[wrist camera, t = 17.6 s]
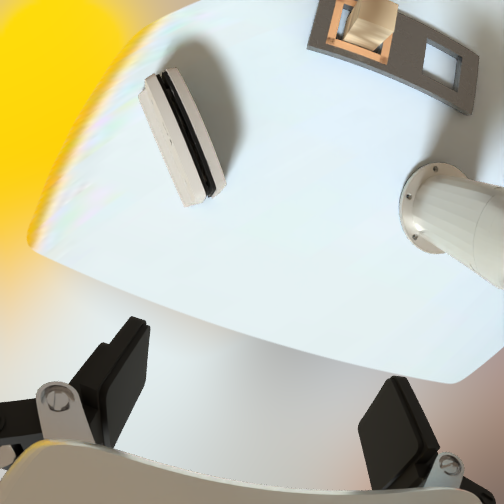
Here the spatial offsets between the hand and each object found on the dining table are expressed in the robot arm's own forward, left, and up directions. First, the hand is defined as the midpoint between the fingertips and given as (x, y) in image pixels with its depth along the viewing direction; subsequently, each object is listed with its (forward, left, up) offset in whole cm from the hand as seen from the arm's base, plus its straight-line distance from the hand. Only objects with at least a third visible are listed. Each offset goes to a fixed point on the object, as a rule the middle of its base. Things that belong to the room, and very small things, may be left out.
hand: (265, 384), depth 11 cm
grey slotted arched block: (+13, -7, -31) cm, 34 cm away
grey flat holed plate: (-11, -28, -30) cm, 42 cm away
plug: (-5, -27, -30) cm, 41 cm away
